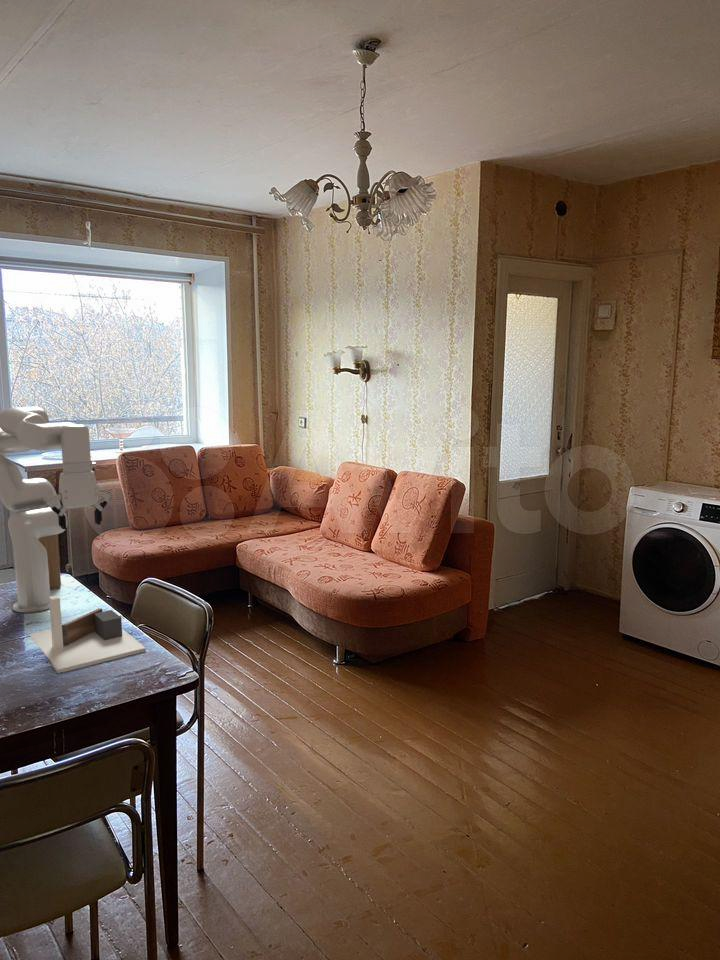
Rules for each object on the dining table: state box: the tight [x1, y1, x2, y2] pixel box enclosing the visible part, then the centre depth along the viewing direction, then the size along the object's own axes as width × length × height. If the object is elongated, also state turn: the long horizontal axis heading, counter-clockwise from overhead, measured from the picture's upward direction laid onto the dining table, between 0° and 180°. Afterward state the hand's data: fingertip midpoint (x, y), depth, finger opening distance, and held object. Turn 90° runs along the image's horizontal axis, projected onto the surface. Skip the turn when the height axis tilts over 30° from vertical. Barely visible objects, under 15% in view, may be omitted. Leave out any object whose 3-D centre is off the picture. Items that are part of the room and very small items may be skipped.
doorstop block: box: [94, 609, 123, 640], centre depth 198 cm, size 8×5×6 cm, turn 38°
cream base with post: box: [28, 595, 146, 674], centre depth 193 cm, size 30×22×15 cm
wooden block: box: [38, 534, 62, 590], centre depth 243 cm, size 10×10×20 cm
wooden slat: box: [62, 607, 104, 645], centre depth 196 cm, size 1×15×6 cm, turn 159°
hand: (81, 526), depth 203 cm, fingers open, 9 cm apart
